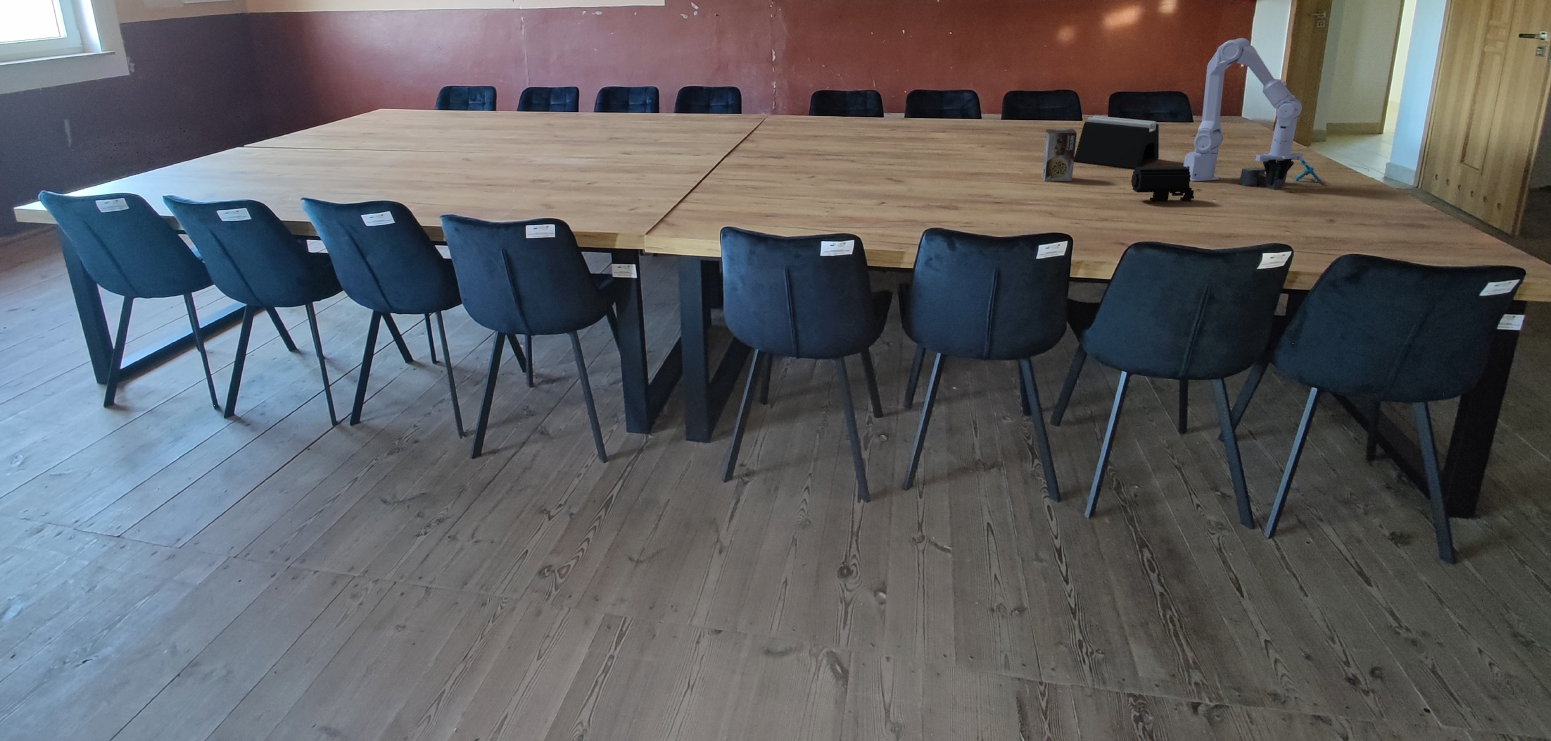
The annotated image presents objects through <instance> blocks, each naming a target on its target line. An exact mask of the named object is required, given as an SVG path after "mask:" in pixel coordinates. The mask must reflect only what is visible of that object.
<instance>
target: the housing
mask: <svg viewBox="0 0 1551 741" xmlns="http://www.w3.org/2000/svg"><path fill="white" fill-rule="evenodd" d="M1259 172H1265V173H1266V171H1265V167H1250V168H1249V167H1245V169H1244V168H1242V169H1241V173H1240V176H1239V177H1240V178H1239V183H1238V185H1241V186H1243V187H1252V186H1253V187H1254V186H1255V187H1256V186H1257V185H1258V184H1257V179H1258V174H1259ZM1276 172H1277V171H1276ZM1287 176H1288V172H1287V173H1286V175H1285V177H1284V178H1283V180H1282V184H1281V185H1285V184H1286V180H1287ZM1275 177H1276V174H1275Z"/></svg>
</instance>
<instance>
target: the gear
mask: <svg viewBox="0 0 1551 741" xmlns="http://www.w3.org/2000/svg"><path fill="white" fill-rule="evenodd" d="M1299 161H1300V163H1301V164H1302V165H1303V166H1304V167H1305V168H1304V170H1302V173H1300V174H1299V175H1297V176H1296V177H1295V178H1294V180H1295V181H1296V182H1298V181H1300V180H1301V179H1302V178H1304V177H1305V176H1308V175H1312V177H1313V178H1314V179H1315V181H1316V182H1318V183H1321V182H1322V180H1321V179H1320V178H1319V176H1317V174H1316V173H1315V171H1314V170H1315V169H1314V167H1313V166H1312V167H1311V166H1310V165H1308V163H1307V162H1306V161H1305V159H1303V158H1302V160H1299Z"/></svg>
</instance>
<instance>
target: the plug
mask: <svg viewBox="0 0 1551 741" xmlns="http://www.w3.org/2000/svg"><path fill="white" fill-rule="evenodd" d="M1245 168H1246V167H1245ZM1245 168H1243V169H1245ZM1256 185H1260V186H1263V187H1266V188H1268V189H1270V190H1281V187H1282V185H1283V184H1282V179H1279V178H1276V177H1275V178H1274V181H1273V184H1268V183H1267V179H1266V172H1259V174H1258V179H1257V184H1256Z"/></svg>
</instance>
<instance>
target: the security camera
mask: <svg viewBox="0 0 1551 741" xmlns="http://www.w3.org/2000/svg"><path fill="white" fill-rule="evenodd" d="M1189 170H1190V169H1189V168H1187V167H1185V166H1184V165H1183V166H1182V165H1181V166H1178V165H1177V166H1174V165H1173V166H1172V165H1171V166H1143V167H1136V169H1135V170H1133V173H1132V174H1131V180H1130V182H1131V187H1132V190H1133V191H1134V192H1136V193H1152V197H1151V196H1150V197H1149V201H1151V202H1152V203H1155V202H1156V203H1157V202H1158V203H1162V202H1163V203H1164V202H1165V203H1166V202H1168V201H1169V198H1170V197H1169V195H1170V194H1171V196H1172V197H1180V201H1181V202H1192V200H1194V199H1195V196H1194V194H1195V190H1194V189H1193V187H1191V186H1190V184H1191V180H1190V178H1191V175H1190V172H1189Z"/></svg>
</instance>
